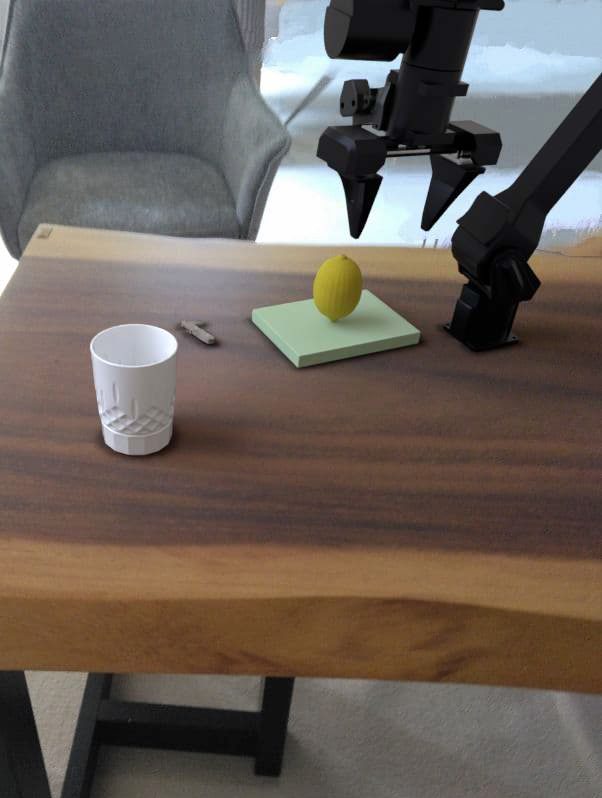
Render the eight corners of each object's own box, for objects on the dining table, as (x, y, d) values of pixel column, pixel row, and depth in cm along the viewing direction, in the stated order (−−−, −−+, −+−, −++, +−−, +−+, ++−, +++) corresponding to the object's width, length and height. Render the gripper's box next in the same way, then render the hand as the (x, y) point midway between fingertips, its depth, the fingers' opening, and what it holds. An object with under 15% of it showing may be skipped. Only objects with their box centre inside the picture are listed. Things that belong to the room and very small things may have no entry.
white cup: (116, 468, 74) (110, 374, 67) (85, 425, 79) (77, 334, 72) (191, 447, 77) (193, 354, 70) (156, 406, 82) (155, 317, 75)
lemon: (325, 335, 91) (335, 268, 85) (300, 315, 94) (308, 249, 89) (365, 326, 92) (377, 260, 87) (339, 307, 96) (349, 241, 91)
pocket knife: (227, 336, 92) (207, 339, 91) (226, 342, 93) (206, 346, 91) (197, 316, 96) (177, 320, 94) (196, 323, 96) (177, 326, 94)
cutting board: (364, 300, 101) (366, 289, 100) (418, 343, 93) (421, 331, 92) (251, 320, 96) (252, 309, 95) (297, 368, 88) (299, 356, 87)
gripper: (453, 45, 81) (413, 200, 92) (301, 44, 74) (275, 213, 85) (530, 71, 74) (476, 237, 85) (369, 73, 67) (332, 254, 78)
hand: (390, 233), depth 83 cm, fingers open, 9 cm apart
